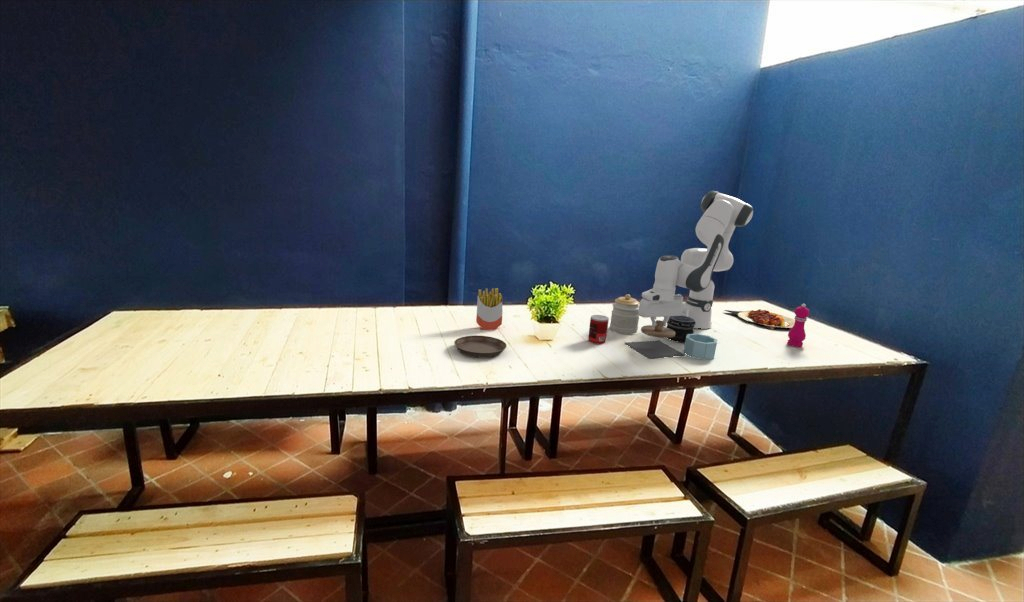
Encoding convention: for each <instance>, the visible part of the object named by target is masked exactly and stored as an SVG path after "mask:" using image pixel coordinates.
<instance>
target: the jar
mask: <svg viewBox="0 0 1024 602" xmlns="http://www.w3.org/2000/svg"><path fill="white" fill-rule="evenodd" d="M614 301H615V302H614V303H612V310H611V319H610V324H609V329H610V331H612V332H613V333H618V334H622V335H635V334H637V333H638V329H639V320H640V317H641V316H640V315H639V314H638V310H639V304H640V301H638V300H637V299H636V298H633V297H631V295H630V294H627V293H626V294H625V295H624V296H619V297H617V298H615V299H614Z"/></svg>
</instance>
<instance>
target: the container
mask: <svg viewBox="0 0 1024 602" xmlns="http://www.w3.org/2000/svg"><path fill="white" fill-rule="evenodd" d="M695 324H696V322H695V320H694V319H692V318H690V317H687V316H670V317H669V320H668V321H667V323H666V326H665V327H666V328H669V329H672V330H673V331H675V336H674V337H672V338H668V340H669V339H671V340H670V341H672V340H673V341H672V342H676V341H678V342H677V343H682V342H683V343H685V340H686V336H687V334H695V333H694V329H695V328H694V325H695Z"/></svg>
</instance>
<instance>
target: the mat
mask: <svg viewBox="0 0 1024 602" xmlns="http://www.w3.org/2000/svg"><path fill="white" fill-rule="evenodd" d="M624 345H626V346H627V345H628V346H627V347H629V346H630V347H629V348H631V349H632V348H633V349H632V350H634V351H635V350H636V352H637V353H639V355H642V356H643V357H645V358H646V357H647V359H648V360H652V359H653V360H654V359H664V357H668V358H674V357H673V356H680V357H685V356H686V354H685V353H683V352H682V351H679V350H677V348H674V347H672V346H671V345H668V344H667V343H665V342H663V341H661V340H660V339H658V340H657V339H655V340H643V341H642V340H641V341H629V342H628V341H627V342H624Z"/></svg>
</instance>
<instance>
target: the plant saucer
mask: <svg viewBox="0 0 1024 602" xmlns="http://www.w3.org/2000/svg"><path fill="white" fill-rule="evenodd" d="M453 343H454V344H453V345H454V346H455V348H456V349H457V350H458V351H459V352H460V353H461V354H463V355H465V356H467V357H471V358H478V359H487V358H493V357H496V356H498V355H501V354H502V353H503V352H504V350H506V348H507V345H508V344H507V343H506V342H505V341H503V340H501V339H500V338H496V337H493V336H487V335H477V334H476V335H465V336H460V337H458V338H456V339H455V340H454V342H453Z"/></svg>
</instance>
